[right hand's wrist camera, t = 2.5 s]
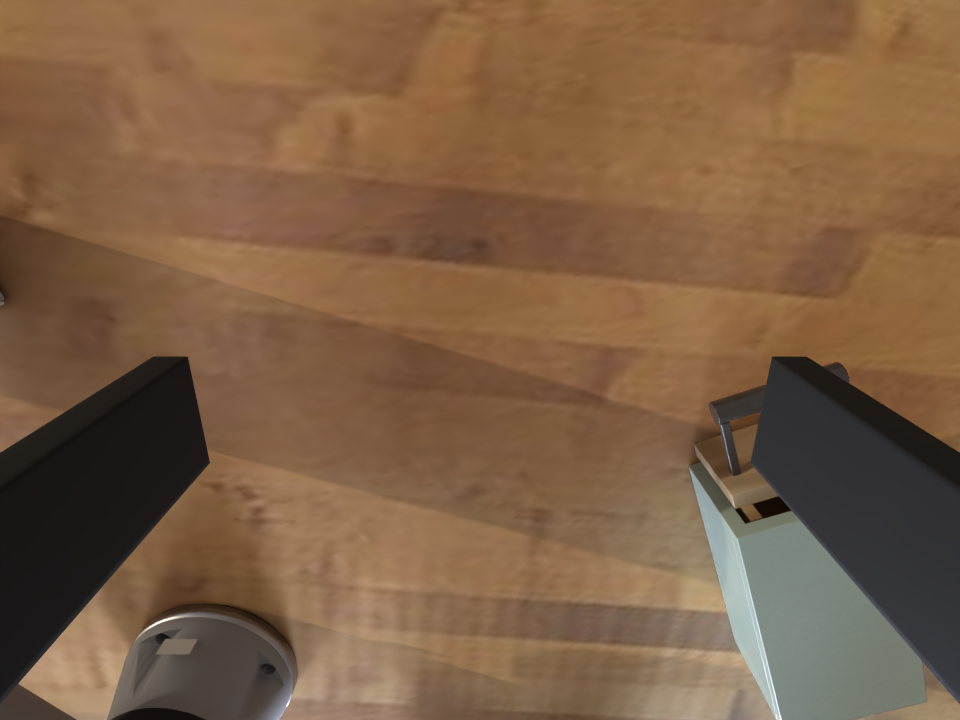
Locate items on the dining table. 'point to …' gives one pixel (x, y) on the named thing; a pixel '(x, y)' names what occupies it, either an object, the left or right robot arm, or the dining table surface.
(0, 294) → the hard drive box
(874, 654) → the cabinet
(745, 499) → the drawer
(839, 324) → the dining table surface
